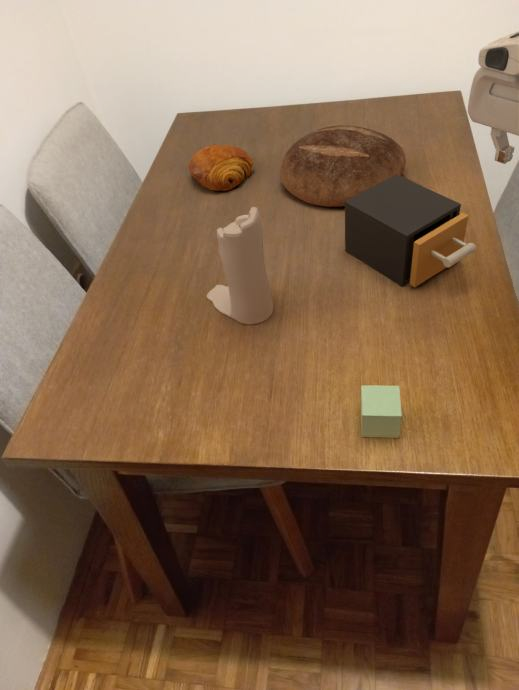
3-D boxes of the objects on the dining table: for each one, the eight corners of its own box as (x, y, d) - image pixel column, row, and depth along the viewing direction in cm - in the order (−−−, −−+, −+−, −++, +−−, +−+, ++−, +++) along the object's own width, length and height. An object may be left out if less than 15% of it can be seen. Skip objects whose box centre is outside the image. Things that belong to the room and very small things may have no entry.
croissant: (207, 207, 120) (200, 178, 114) (184, 171, 129) (177, 142, 123) (264, 186, 123) (261, 156, 116) (237, 152, 132) (233, 123, 125)
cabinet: (452, 255, 95) (461, 203, 87) (402, 287, 91) (406, 235, 83) (393, 223, 104) (396, 174, 96) (345, 250, 100) (344, 201, 92)
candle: (223, 279, 98) (202, 182, 84) (281, 305, 91) (269, 205, 77) (197, 301, 95) (169, 204, 80) (255, 330, 88) (236, 229, 73)
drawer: (481, 269, 90) (491, 225, 84) (434, 300, 86) (441, 256, 80) (403, 227, 101) (407, 186, 94) (359, 253, 97) (360, 211, 91)
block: (397, 407, 74) (399, 385, 70) (399, 438, 70) (402, 416, 67) (360, 407, 74) (361, 385, 71) (361, 437, 71) (361, 415, 67)
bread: (311, 145, 130) (309, 104, 123) (418, 158, 120) (423, 115, 112) (262, 199, 116) (256, 157, 109) (379, 220, 105) (381, 175, 98)
